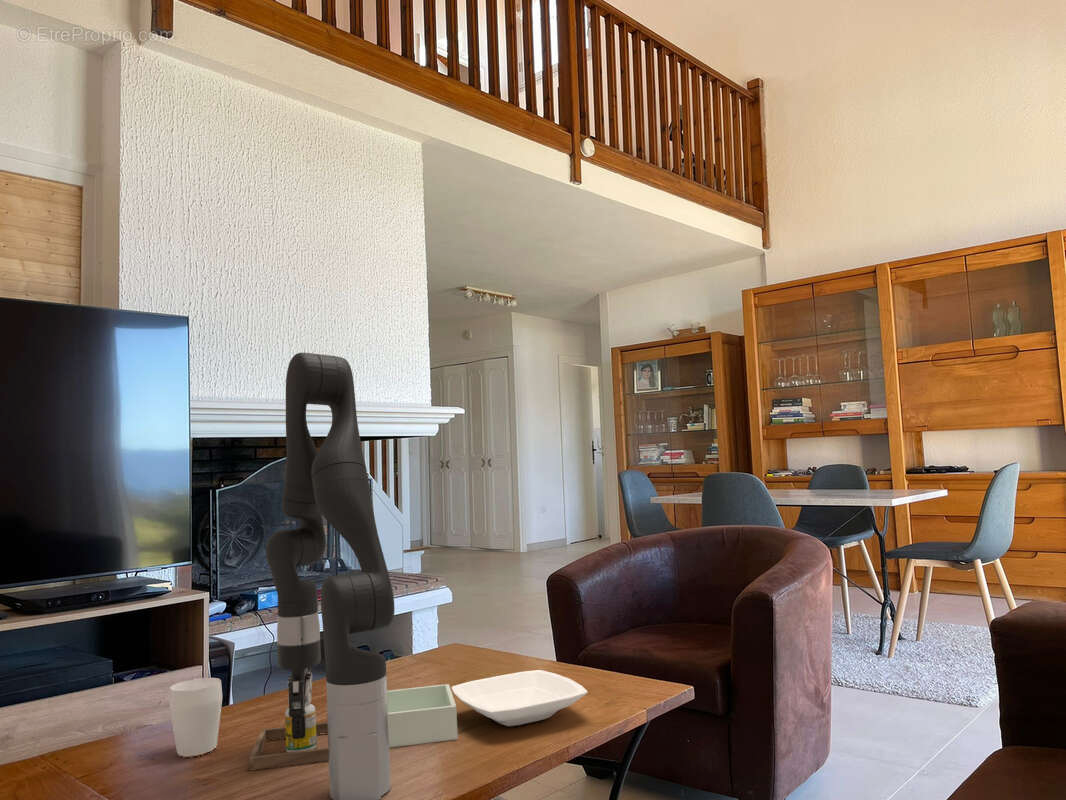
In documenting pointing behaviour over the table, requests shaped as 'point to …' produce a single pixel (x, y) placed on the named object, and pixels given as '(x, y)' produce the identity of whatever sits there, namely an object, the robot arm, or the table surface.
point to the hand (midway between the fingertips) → (301, 730)
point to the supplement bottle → (310, 727)
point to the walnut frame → (289, 757)
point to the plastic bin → (421, 715)
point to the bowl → (520, 696)
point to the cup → (196, 715)
